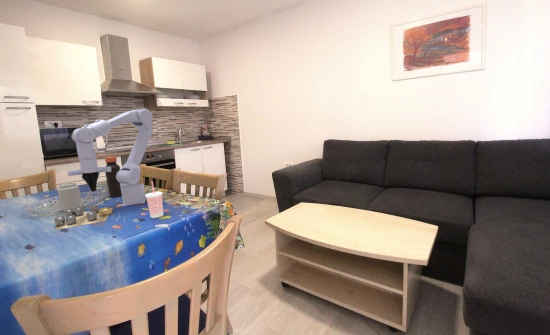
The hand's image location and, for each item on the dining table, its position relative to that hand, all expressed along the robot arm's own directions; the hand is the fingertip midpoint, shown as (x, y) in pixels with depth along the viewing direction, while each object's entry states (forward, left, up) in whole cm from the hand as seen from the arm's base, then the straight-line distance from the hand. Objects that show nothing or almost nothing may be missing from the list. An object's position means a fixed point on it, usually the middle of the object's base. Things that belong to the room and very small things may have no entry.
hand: (93, 190), depth 109 cm
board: (+3, +5, -10) cm, 11 cm away
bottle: (-3, -28, -10) cm, 30 cm away
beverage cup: (-23, +16, -10) cm, 30 cm away
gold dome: (-4, +5, -9) cm, 11 cm away
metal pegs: (+5, +5, -9) cm, 12 cm away
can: (+12, -12, -10) cm, 20 cm away
